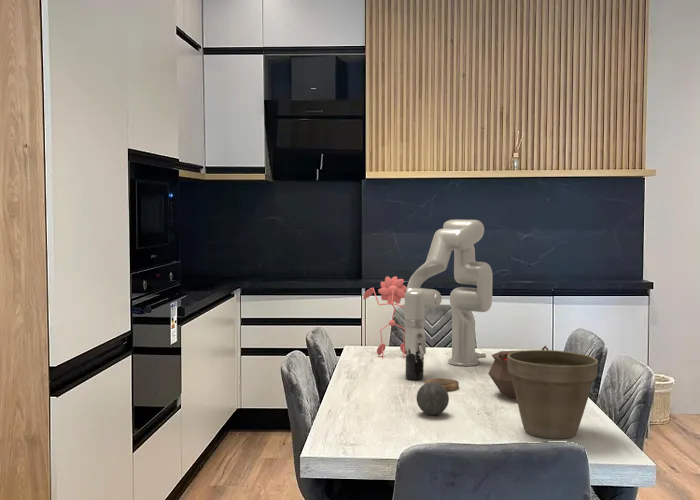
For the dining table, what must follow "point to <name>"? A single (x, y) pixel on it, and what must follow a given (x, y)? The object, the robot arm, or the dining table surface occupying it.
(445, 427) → the dining table surface
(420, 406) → the decorative ball
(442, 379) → the stand
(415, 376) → the supplement bottle
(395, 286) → the figurine
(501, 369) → the brown faceted vessel
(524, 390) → the plant pot
